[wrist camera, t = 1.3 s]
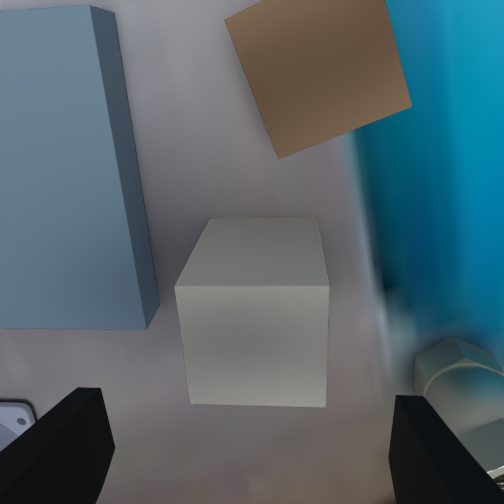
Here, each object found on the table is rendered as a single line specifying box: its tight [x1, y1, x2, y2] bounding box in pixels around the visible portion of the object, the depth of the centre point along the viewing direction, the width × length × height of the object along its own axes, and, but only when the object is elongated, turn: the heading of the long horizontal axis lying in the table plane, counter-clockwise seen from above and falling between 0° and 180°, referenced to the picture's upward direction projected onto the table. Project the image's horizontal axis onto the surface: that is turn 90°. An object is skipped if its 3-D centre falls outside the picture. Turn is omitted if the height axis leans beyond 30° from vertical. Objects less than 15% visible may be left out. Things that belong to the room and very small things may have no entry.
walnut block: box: [224, 0, 412, 159], centre depth 13 cm, size 4×4×4 cm
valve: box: [414, 337, 504, 491], centre depth 18 cm, size 7×7×12 cm
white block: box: [174, 217, 330, 407], centre depth 16 cm, size 4×4×6 cm
